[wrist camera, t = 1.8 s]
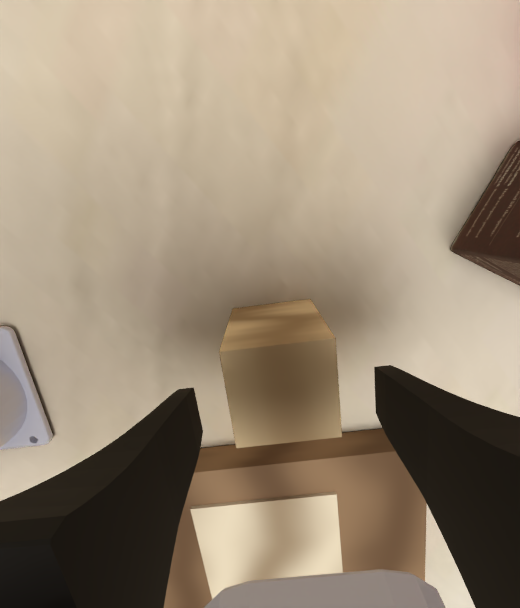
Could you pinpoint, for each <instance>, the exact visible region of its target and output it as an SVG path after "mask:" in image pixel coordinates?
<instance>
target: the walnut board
mask: <svg viewBox="0 0 520 608" xmlns="http://www.w3.org/2000/svg"><path fill="white" fill-rule="evenodd" d="M425 546H426V501H425V499H424V497H423V495H422V494H421V492H420V490H419V488H418V487H417V485H416V484H415V482H414V480H413V479H412V477H411V475H410V474H409V472H408V471H407V469H406V467H405V466H404V464H403V462H402V461H401V459H400V458H399V456H398V454H397V453H396V451H395V449H394V448H393V446H392V444H391V443H390V441H389V439H388V438H387V436H386V434H385V432H384V430H383V428H382V429H373V430H364V431H355V432H345V433H342V437H337V438H328V439H318V440H309V441H300V442H290V443H281V444H272V445H262V446H253V447H244V448H236V445H226V446H217V447H208V448H200V452H199V457H198V461H197V464H196V467H195V471H194V474H193V478H192V481H191V484H190V488H189V491H188V494H187V498H186V501H185V504H184V508H183V511H182V515H181V519H180V523H179V527H178V532H177V537H176V542H175V547H174V552H173V557H172V562H171V568H170V574H169V579H168V585H167V590H166V596H165V603H164V608H204V607H205V606H206V605H207V604H208V603H209V602H210V601H211V600H212V599H213V598H214V597H215V596H216V595H218V594H219V593H220V592H221V591H222V590H223V589H224V588H227V587H230V586H234V585H237V584H240V583H244V582H247V581H252V580H264V579H275V578H287V577H298V576H309V575H321V574H332V573H344V572H355V571H367V570H378V569H383V570H393V571H402V572H409V573H411V574H413V575H415V576H417V577H418V578H420V579H422V580H423V581H425Z"/></svg>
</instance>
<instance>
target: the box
mask: <svg viewBox="0 0 520 608" xmlns="http://www.w3.org/2000/svg"><path fill="white" fill-rule="evenodd" d="M451 251H452V252H454V253H456V254H458V255H460V256H462V257H464V258H466V259H468V260H470V261H472V262H474V263H476V264H478V265H480V266H482V267H484V268H486V269H488V270H490V271H492V272H493V273H496V274H498V275H500V276H502V277H504V278H506V279H508V280H510V281H512V282H514V283H516V284H518V285H520V141H518V142H517V143H516V144H515V145H514V146H512V148H511V149H510V151H509V152H508V154H507V156H506V157H505V159H504V161H503V162H502V164H501V166H500V167H499V169H498V171H497V172H496V174H495V176H494V178H493V180H492V181H491V183H490V184H489V186H488V188H487V190H486V191H485V193H484V194H483V196H482V198H481V199H480V201H479V203H478V204H477V206H476V207H475V209H474V211H473V212H472V214H471V215H470V217H469V218H468V220H467V221H466V223H465V225H464V227H463V228H462V229H461V231H460V232H459V234H458V236H457V237H456V239H455V240H454V242H453V244H452V247H451Z"/></svg>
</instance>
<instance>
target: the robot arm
mask: <svg viewBox="0 0 520 608" xmlns="http://www.w3.org/2000/svg"><path fill="white" fill-rule="evenodd" d="M375 399H376V414H377V416H378V418H379V421H380V423H381V425H382V428H383V430H384V432H385V434H386V436H387V438H388V439H389V441H390V443H391V444H392V446H393V448H394V449H395V451H396V453H397V454H398V456H399V458H400V459H401V461H402V462H403V464H404V466H405V467H406V469H407V471H408V472H409V474H410V475H411V477H412V479H413V480H414V482H415V484H416V485H417V487H418V488H419V490H420V492H421V494H422V495H423V497H424V499H425V501H426V503H427V504H428V506H429V509H430V511H431V513H432V515H433V517H434V519H435V521H436V523H437V525H438V527H439V529H440V531H441V533H442V535H443V537H444V539H445V541H446V543H447V546H448V548H449V550H450V552H451V554H452V556H453V558H454V560H455V563H456V565H457V567H458V569H459V571H460V573H461V576H462V578H463V580H464V582H465V585H466V587H467V589H468V591H469V594H470V596H471V598H472V600H473V603H474V605H475V607H476V608H520V417H517V416H513V415H510V414H507V413H503V412H500V411H497V410H494V409H491V408H488V407H485V406H482V405H479V404H477V403H474V402H471V401H469V400H466V399H464V398H461V397H459V396H456V395H454V394H452V393H449V392H447V391H445V390H442V389H440V388H438V387H436V386H434V385H432V384H429V383H427V382H425V381H423V380H421V379H419V378H417V377H415V376H413V375H411V374H409V373H407V372H405V371H403V370H400V369H398V368H396V367H393V366H391V365H389V366H380V367H375ZM202 433H203V430H202V425H201V420H200V416H199V411H198V406H197V401H196V397H195V392H194V388H186V389H179V390H177V391H176V392H174V393H173V394H172V395H171V396H169V397H168V398H167V399H166V400H165V401H164V402H162V403H161V404H160V405H159V406H158V407H157V408H155V409H154V410H153V411H152V412H151V413H150V414H148V415H147V416H146V417H145V418H144V419H142V420H141V421H140V422H139V423H137V424H136V425H135V426H133V427H132V428H131V429H130V430H128V431H127V432H126V433H125V434H123V435H122V436H120V437H119V438H118V439H116V440H115V441H113V442H112V443H111V444H109V445H108V446H106V447H104V448H103V449H101V450H100V451H98V452H97V453H95V454H94V455H92V456H90V457H88V458H87V459H85V460H83V461H82V462H80V463H78V464H76V465H75V466H73V467H71V468H69V469H68V470H66V471H64V472H62V473H60V474H58V475H56V476H54V477H52V478H50V479H48V480H47V481H44V482H42V483H40V484H38V485H36V486H34V487H32V488H30V489H28V490H25V491H23V492H21V493H19V494H16V495H14V496H12V497H9V498H7V499H5V500H2V501H0V608H164V603H165V596H166V590H167V585H168V579H169V574H170V568H171V562H172V557H173V552H174V547H175V542H176V537H177V532H178V527H179V523H180V519H181V515H182V511H183V508H184V504H185V501H186V498H187V494H188V491H189V488H190V484H191V481H192V478H193V474H194V471H195V467H196V464H197V461H198V457H199V452H200V446H201V440H202ZM34 436H35V437H36V438H35V437H34ZM52 438H53V434H52V432H51V429H50V426H49V423H48V421H47V418H46V415H45V413H44V410H43V407H42V404H41V402H40V399H39V396H38V394H37V391H36V388H35V385H34V383H33V380H32V377H31V375H30V372H29V369H28V366H27V364H26V361H25V358H24V356H23V353H22V350H21V347H20V345H19V342H18V339H17V337H16V334H15V332H14V330H13V329H12V328H10V327H8V326H0V450H3V449H12V448H21V447H30V446H39V445H46V444H48V443H49V442H50V441H51V440H52ZM204 608H445V605H444V603H443V601H442V599H441V597H440V595H439V593H438V591H437V589H436V588H434V587H433V586H431V585H429V584H428V583H426V582H425V581H423V580H422V579H420V578H418V577H417V576H415V575H413V574H411V573H409V572H402V571H393V570H383V569H378V570H367V571H355V572H344V573H332V574H321V575H309V576H298V577H287V578H275V579H264V580H252V581H247V582H244V583H240V584H237V585H234V586H230V587H227V588H224V589H223V590H222V591H221V592H220V593H219V594H218V595H216V596H215V597H214V598H213V599H212V600H211V601H210V602H209V603H208V604H207V605H206V606H205V607H204Z"/></svg>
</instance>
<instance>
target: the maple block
mask: <svg viewBox="0 0 520 608" xmlns="http://www.w3.org/2000/svg"><path fill="white" fill-rule="evenodd" d="M219 354H220V360H221V365H222V371H223V377H224V382H225V388H226V393H227V399H228V405H229V410H230V416H231V421H232V427H233V432H234V438H235V444H236V448H244V447H253V446H262V445H272V444H281V443H290V442H300V441H309V440H318V439H328V438H337V437H342V430H341V415H340V399H339V384H338V369H337V354H336V338H335V337H334V335H333V333H332V332H331V330H330V329H329V327H328V326H327V324H326V323H325V321H324V320H323V318H322V316H321V315H320V313H319V312H318V310H317V309H316V307H315V306H314V304H313V303H312V301H311V299H306V300H298V301H290V302H282V303H274V304H265V305H257V306H249V307H241V308H233V309H232V313H231V316H230V319H229V322H228V325H227V328H226V332H225V335H224V338H223V341H222V344H221V347H220V351H219Z"/></svg>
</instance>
